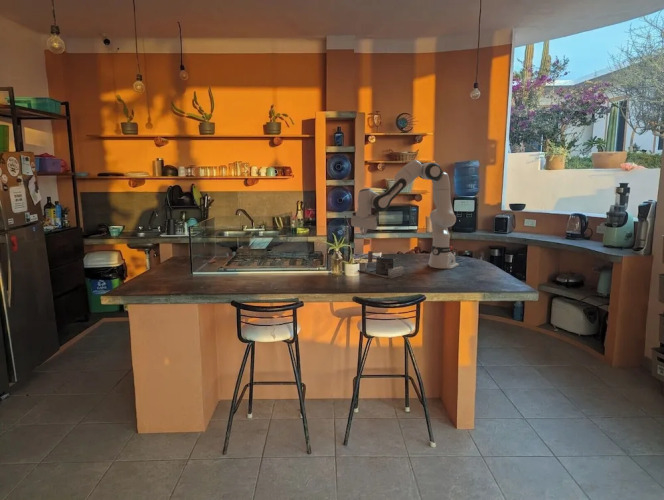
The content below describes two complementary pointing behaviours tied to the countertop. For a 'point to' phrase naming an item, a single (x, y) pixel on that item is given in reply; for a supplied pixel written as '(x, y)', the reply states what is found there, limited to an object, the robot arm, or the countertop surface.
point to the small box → (383, 265)
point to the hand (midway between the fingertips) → (363, 234)
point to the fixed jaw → (389, 272)
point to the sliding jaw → (370, 263)
